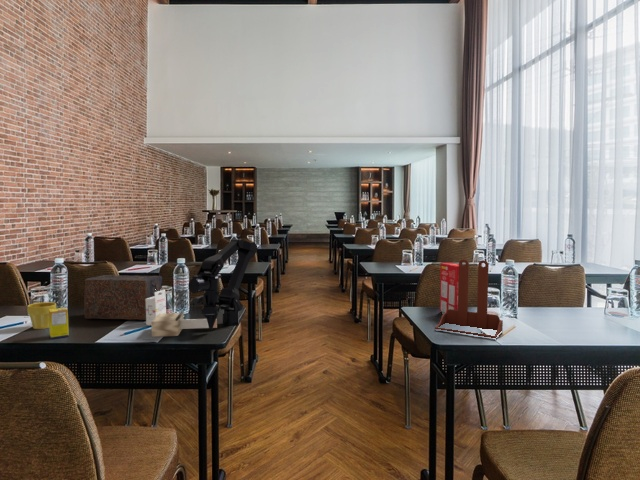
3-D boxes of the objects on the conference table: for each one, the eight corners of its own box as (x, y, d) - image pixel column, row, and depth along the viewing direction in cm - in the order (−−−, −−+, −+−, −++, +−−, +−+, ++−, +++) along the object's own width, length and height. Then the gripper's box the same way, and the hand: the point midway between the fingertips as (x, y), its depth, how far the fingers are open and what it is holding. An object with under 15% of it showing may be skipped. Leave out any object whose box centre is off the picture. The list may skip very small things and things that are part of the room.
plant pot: (58, 327, 182) (57, 305, 182) (28, 331, 176) (28, 308, 176) (55, 323, 191) (54, 301, 190) (27, 326, 184) (26, 303, 184)
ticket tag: (216, 326, 181) (216, 318, 181) (216, 327, 180) (216, 319, 180) (177, 328, 179) (177, 319, 179) (176, 329, 178) (176, 320, 177)
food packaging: (465, 319, 203) (466, 266, 201) (455, 319, 202) (456, 266, 200) (449, 312, 217) (450, 262, 216) (439, 312, 216) (440, 263, 215)
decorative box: (101, 315, 212) (79, 320, 192) (103, 273, 213) (81, 274, 193) (164, 316, 212) (148, 321, 192) (166, 275, 213) (150, 276, 193)
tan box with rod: (183, 326, 185) (183, 310, 185) (178, 335, 172) (177, 318, 171) (159, 327, 184) (159, 311, 184) (151, 336, 170) (151, 319, 170)
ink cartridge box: (156, 320, 196) (156, 288, 195) (166, 321, 195) (166, 289, 194) (145, 325, 188) (144, 291, 187) (155, 326, 187) (155, 292, 186)
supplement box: (66, 333, 174) (65, 306, 173) (68, 336, 169) (68, 309, 168) (48, 336, 170) (48, 308, 169) (51, 339, 165) (50, 311, 165)
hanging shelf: (434, 331, 181) (436, 260, 180) (444, 324, 192) (446, 257, 191) (495, 340, 168) (497, 264, 166) (502, 333, 179) (504, 261, 177)
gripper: (194, 286, 187) (195, 321, 188) (188, 293, 169) (188, 333, 170) (220, 285, 189) (221, 321, 190) (217, 293, 171) (217, 332, 172)
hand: (211, 326), depth 180 cm, fingers open, 9 cm apart
